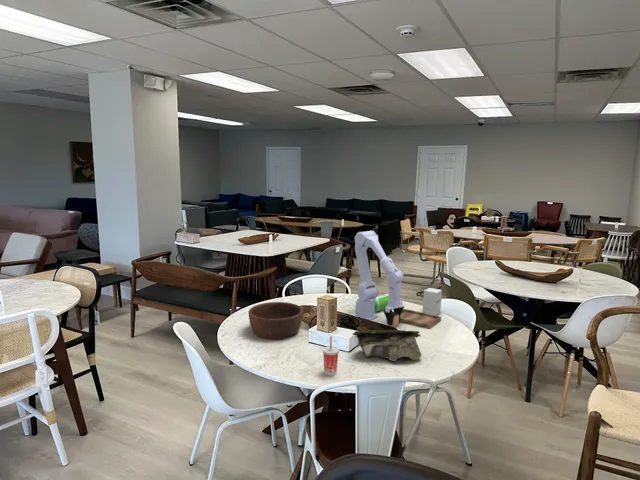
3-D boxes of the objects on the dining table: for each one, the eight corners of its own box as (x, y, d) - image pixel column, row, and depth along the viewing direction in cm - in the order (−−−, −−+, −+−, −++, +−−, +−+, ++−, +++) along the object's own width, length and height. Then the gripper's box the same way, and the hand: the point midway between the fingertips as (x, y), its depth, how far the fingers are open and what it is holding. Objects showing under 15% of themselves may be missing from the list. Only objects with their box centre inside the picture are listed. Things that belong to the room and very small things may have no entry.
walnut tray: (391, 320, 209) (391, 316, 209) (404, 312, 221) (404, 308, 221) (429, 329, 198) (429, 325, 197) (440, 320, 210) (441, 316, 209)
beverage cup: (337, 377, 151) (338, 340, 148) (320, 375, 152) (321, 339, 149) (339, 369, 157) (340, 334, 154) (323, 367, 158) (324, 332, 155)
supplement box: (435, 316, 216) (436, 292, 214) (422, 313, 220) (423, 290, 218) (440, 312, 221) (442, 289, 219) (427, 309, 226) (428, 287, 224)
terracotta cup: (386, 325, 202) (386, 314, 201) (390, 322, 206) (391, 312, 205) (395, 328, 199) (396, 317, 198) (400, 325, 203) (400, 314, 202)
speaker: (376, 314, 218) (377, 300, 217) (366, 310, 224) (366, 297, 222) (397, 307, 230) (397, 294, 229) (386, 304, 235) (387, 291, 234)
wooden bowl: (312, 326, 199) (312, 306, 198) (286, 346, 177) (286, 323, 175) (267, 318, 210) (267, 299, 208) (237, 336, 187) (237, 314, 186)
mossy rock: (352, 367, 169) (353, 353, 157) (351, 337, 176) (352, 321, 164) (422, 367, 167) (428, 353, 155) (418, 337, 175) (424, 321, 163)
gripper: (395, 300, 192) (394, 328, 194) (408, 293, 203) (407, 320, 205) (381, 297, 196) (380, 325, 198) (395, 291, 207) (394, 317, 210)
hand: (393, 322), depth 202 cm, fingers open, 7 cm apart
